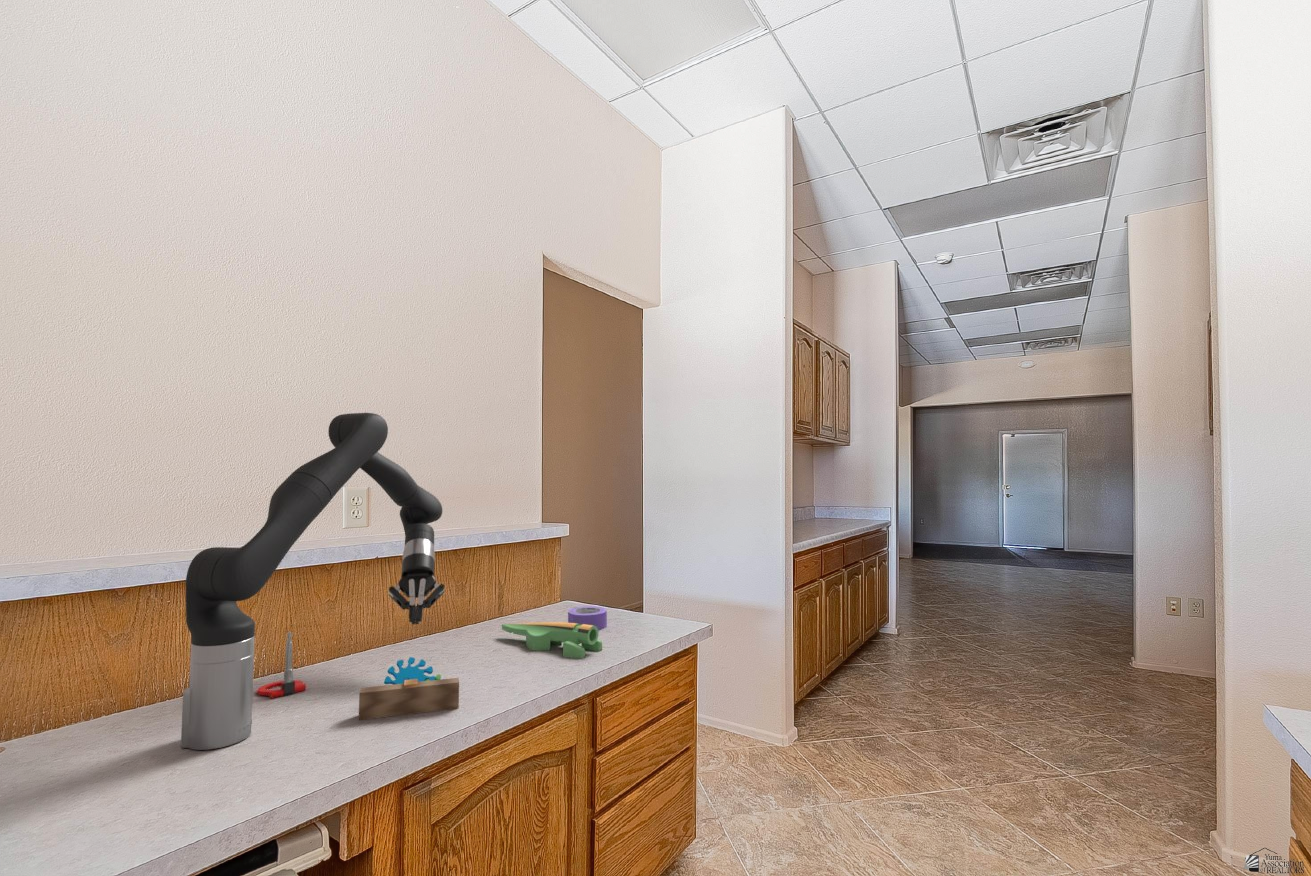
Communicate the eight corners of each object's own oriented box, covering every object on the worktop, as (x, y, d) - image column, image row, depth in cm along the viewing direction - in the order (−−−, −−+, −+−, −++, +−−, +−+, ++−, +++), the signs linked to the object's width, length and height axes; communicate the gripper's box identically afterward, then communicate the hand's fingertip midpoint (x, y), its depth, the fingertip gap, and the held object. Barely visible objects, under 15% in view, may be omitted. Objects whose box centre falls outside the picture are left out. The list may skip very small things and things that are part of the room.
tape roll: (582, 633, 180) (582, 616, 180) (560, 626, 189) (560, 609, 189) (614, 627, 188) (614, 610, 188) (592, 620, 196) (592, 604, 197)
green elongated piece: (488, 642, 171) (488, 615, 171) (515, 633, 180) (515, 608, 180) (580, 659, 155) (580, 630, 155) (604, 649, 164) (604, 621, 164)
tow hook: (251, 692, 132) (266, 700, 127) (253, 631, 134) (268, 636, 128) (294, 682, 139) (310, 690, 133) (295, 624, 140) (311, 628, 134)
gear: (382, 701, 122) (387, 655, 129) (378, 715, 125) (383, 669, 132) (440, 700, 126) (442, 655, 134) (435, 714, 130) (436, 670, 137)
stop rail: (358, 720, 116) (359, 689, 117) (360, 713, 120) (361, 684, 120) (458, 708, 122) (459, 679, 123) (458, 702, 126) (458, 674, 126)
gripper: (389, 552, 149) (383, 615, 137) (447, 550, 153) (446, 610, 141) (390, 571, 154) (384, 633, 141) (446, 569, 158) (445, 629, 146)
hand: (415, 622), depth 141 cm, fingers closed
